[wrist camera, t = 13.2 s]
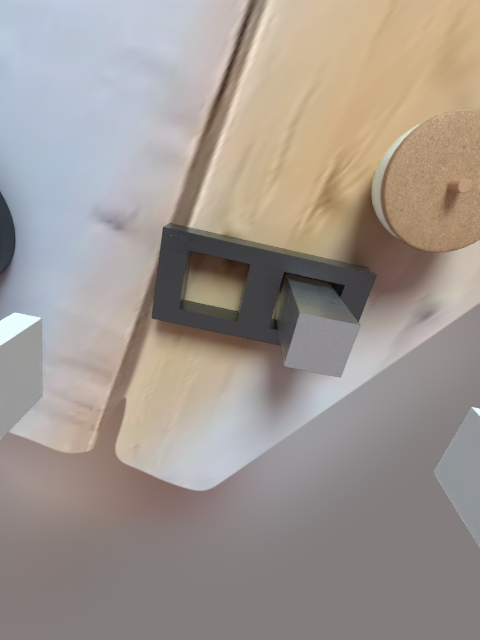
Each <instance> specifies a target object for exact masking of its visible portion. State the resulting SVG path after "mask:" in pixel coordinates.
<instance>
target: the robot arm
mask: <svg viewBox="0 0 480 640" xmlns="http://www.w3.org/2000/svg"><path fill="white" fill-rule="evenodd" d="M14 242H15V235H14V226H13V221H12V217H11V214H10V211H9V209H8V206H7V204H6V202H5V200H4V198H3V196H2V194H1V193H0V275H1V274H2V273H3V271H4V270H5V269H6V267H7V266H8V264H9V262H10V260H11V257H12V254H13V250H14ZM41 397H42V318H39V317H34V316H30V315H25V314H20V313H13V314H11V315H10V316H8V317H6V318H4V319H3V320H1V321H0V440H1V439H2V438H3V437H4V436H5V435H6V434H7V433H8V432H9V431H10V429H11V428H12V427H13V426H14V425H15V424H16V423H17V422H18V421H19V420H20V419H21V418H22V417H23V416H24V415H25V414H26V413H27V412H28V411H29V410H30V409H31V408H32V407H33V406H34V405H35V403H36V402H37V401H38V400H39V399H40V398H41ZM433 473H434V475H435V476H436V478H437V480H438V481H439V483H440V485H441V486H442V488H443V489H444V491H445V492H446V494H447V496H448V498H449V499H450V501H451V502H452V504H453V506H454V507H455V509H456V511H457V512H458V514H459V515H460V517H461V519H462V520H463V522H464V523H465V525H466V527H467V528H468V530H469V531H470V533H471V535H472V536H473V538H474V540H475V541H476V543H477V544H478V546H479V548H480V409H478V408H473V407H471V409H470V411H469V412H468V414H467V416H466V417H465V419H464V421H463V423H462V424H461V426H460V428H459V429H458V431H457V433H456V434H455V436H454V438H453V440H452V441H451V443H450V445H449V447H448V448H447V450H446V452H445V453H444V455H443V457H442V459H441V460H440V462H439V464H438V465H437V467H436V469H435V470H434V472H433Z"/></svg>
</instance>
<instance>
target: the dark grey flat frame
mask: <svg viewBox="0 0 480 640" xmlns="http://www.w3.org/2000/svg"><path fill="white" fill-rule="evenodd" d="M192 251H194V252H198V253H203V254H207V255H212V256H216V257H221V258H225V259H230V260H234V261H239V262H243V263H248V264H249V268H248V272H247V277H246V281H245V285H244V290H243V294H242V298H241V303H240V307H239V311H233V310H228V309H224V308H219V307H214V306H210V305H205V304H200V303H196V302H191V301H186V300H184V295H185V289H186V283H187V277H188V271H189V265H190V259H191V252H192ZM284 272H288V273H292V274H297V275H301V276H306V277H310V278H315V279H319V280H324V281H328V282H333V283H336V286H335V289H334V290H335V292H336V293H337V294H338V296H339V297H340V298H341V300H342V301H343V302H344V304H345V305H346V306H347V308H348V309H349V311H350V312H351V313H352V315H353V316H354V317H355V319H356V320H357V321H358V322H359V319H360V317H361V314H362V312H363V309H364V306H365V304H366V301H367V299H368V296H369V293H370V291H371V288H372V285H373V283H374V280H375V278H376V274H375V273H374V272H372V271H371V270H370V269H368V268H366V267H362V266H357V265H353V264H349V263H344V262H340V261H335V260H331V259H326V258H322V257H318V256H313V255H309V254H304V253H300V252H295V251H291V250H287V249H282V248H278V247H273V246H269V245H264V244H260V243H256V242H251V241H247V240H242V239H238V238H234V237H229V236H225V235H220V234H216V233H211V232H207V231H203V230H198V229H194V228H189V227H185V226H180V225H176V224H172V223H169V224H167V225H166V226H164V227H163V233H162V241H161V249H160V257H159V264H158V272H157V280H156V288H155V296H154V304H153V311H152V319H157V320H162V321H167V322H171V323H176V324H181V325H186V326H190V327H195V328H200V329H205V330H209V331H214V332H219V333H224V334H228V335H233V336H238V337H243V338H247V339H252V340H257V341H262V342H266V343H271V344H276V345H280V340H279V334H278V328H277V322H276V320H275V319H271V318H272V314H273V310H274V307H275V303H276V299H277V296H278V292H279V288H280V285H281V281H282V277H283V274H284Z"/></svg>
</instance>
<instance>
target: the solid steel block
mask: <svg viewBox="0 0 480 640" xmlns="http://www.w3.org/2000/svg"><path fill="white" fill-rule="evenodd" d="M275 316H276V322H277V328H278V334H279V340H280V346H281V352H282V357H283V363H284V366H285V367H290V368H295V369H300V370H305V371H310V372H315V373H320V374H325V375H330V376H335V377H340V378H341V376H342V373H343V370H344V368H345V365H346V362H347V360H348V357H349V354H350V352H351V349H352V346H353V344H354V341H355V338H356V336H357V333H358V330H359V328H360V324H359V323H358V321H357V320H356V319H355V317H354V316H353V315H352V313H351V312H350V311H349V309H348V308H347V306H346V305H345V304H344V302H343V301H342V300H341V298H340V297H339V296H338V294H337V293H336V292H335V290H334V289H333V288H332V286H331V285H330V283H326V282H322V281H317V280H312V279H308V278H303V277H298V276H293V275H289V274H286V276H285V280H284V283H283V287H282V291H281V295H280V298H279V302H278V306H277V310H276V313H275Z"/></svg>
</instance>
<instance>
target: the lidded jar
mask: <svg viewBox="0 0 480 640" xmlns="http://www.w3.org/2000/svg"><path fill="white" fill-rule="evenodd" d="M371 193H372V203H373V207H374V210H375V213H376V215H377V217H378V219H379V220H380V222H381V224H382V225H383V226H384V227H385V228H386V229H387V230H388V231H389V232H390V233H391V234H392V235H394V236H395V237H396V238H398V239H400V240H401V241H403V242H404V243H406V244H408V245H410V246H411V247H413V248H416V249H419V250H422V251H427V252H449V251H454V250H457V249H461V248H464V247H466V246H468V245H470V244H473V243H475V242H476V241H478V240H479V239H480V109H475V108H464V109H457V110H452V111H448V112H445V113H443V114H440V115H437V116H435V117H433V118H431V119H429V120H427V121H425V122H423V123H421V124H419V125H417V126H415V127H413V128H412V129H410V130H409V131H407V132H406V133H405V134H403V135H402V136H401V137H399V138H398V139H397V140H396V141H395V142H394V143H393V144H392V145H391V146H390V148H389V149H388V150H387V151H386V153H385V154H384V155H383V157H382V159H381V160H380V162H379V164H378V166H377V168H376V171H375V174H374V177H373V181H372V189H371Z"/></svg>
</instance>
